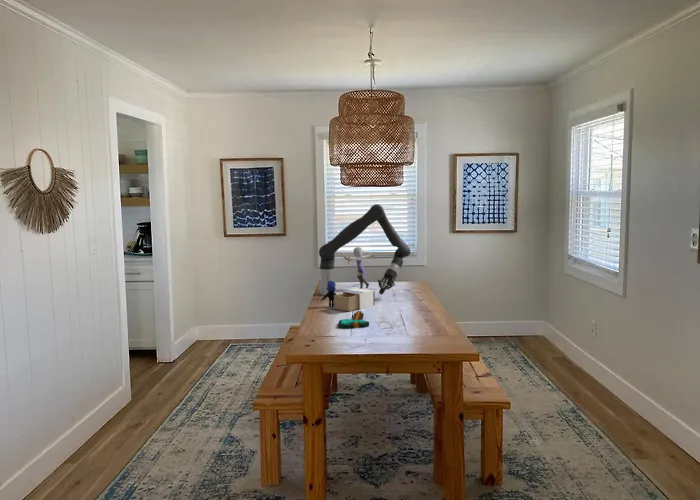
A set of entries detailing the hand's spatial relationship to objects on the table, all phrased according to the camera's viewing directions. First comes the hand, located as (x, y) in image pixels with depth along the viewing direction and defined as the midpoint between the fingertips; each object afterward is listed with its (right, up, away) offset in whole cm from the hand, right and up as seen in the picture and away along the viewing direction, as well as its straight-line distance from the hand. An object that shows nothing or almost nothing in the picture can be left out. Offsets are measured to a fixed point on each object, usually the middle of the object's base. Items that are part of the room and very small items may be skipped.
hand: (380, 293), depth 345 cm
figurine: (-12, 0, +38) cm, 40 cm away
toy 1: (-30, -6, -14) cm, 34 cm away
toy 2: (-17, -11, -53) cm, 57 cm away
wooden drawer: (-16, -6, -18) cm, 25 cm away
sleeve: (-14, -6, -16) cm, 22 cm away
